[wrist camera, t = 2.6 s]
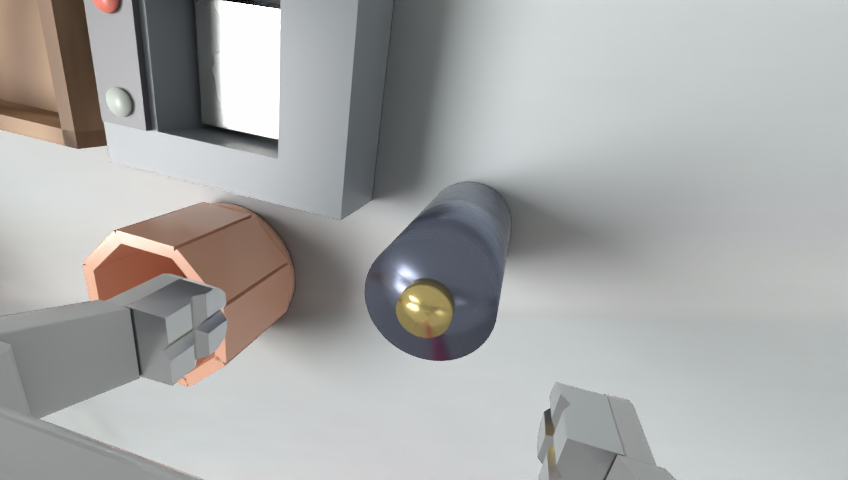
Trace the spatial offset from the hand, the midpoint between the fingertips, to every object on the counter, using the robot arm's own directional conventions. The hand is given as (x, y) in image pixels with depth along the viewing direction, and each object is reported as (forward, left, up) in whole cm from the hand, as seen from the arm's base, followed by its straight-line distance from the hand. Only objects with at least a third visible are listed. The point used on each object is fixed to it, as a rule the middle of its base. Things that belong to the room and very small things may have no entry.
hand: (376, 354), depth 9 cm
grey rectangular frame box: (+10, -5, -11) cm, 16 cm away
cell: (-1, 0, -11) cm, 11 cm away
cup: (+12, +6, -11) cm, 17 cm away
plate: (+10, -5, -10) cm, 15 cm away
